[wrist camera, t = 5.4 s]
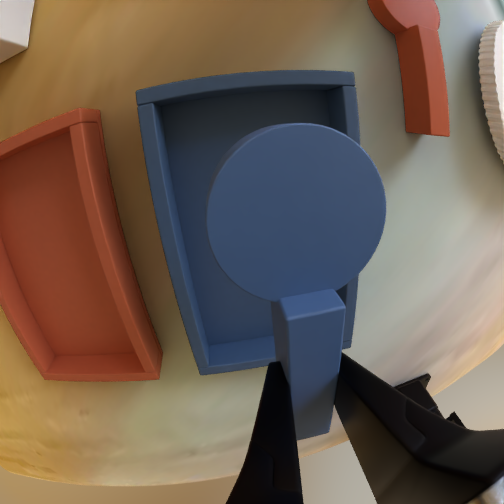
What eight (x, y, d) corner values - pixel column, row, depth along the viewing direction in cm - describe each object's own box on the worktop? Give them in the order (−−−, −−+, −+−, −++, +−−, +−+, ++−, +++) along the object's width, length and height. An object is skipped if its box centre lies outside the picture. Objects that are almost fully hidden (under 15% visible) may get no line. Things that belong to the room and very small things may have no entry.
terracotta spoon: (440, 134, 14) (466, 138, 12) (384, 131, 14) (409, 133, 12) (418, -11, 10) (439, -20, 8) (359, -28, 10) (377, -43, 7)
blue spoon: (345, 382, 12) (364, 422, 10) (244, 404, 11) (252, 449, 9) (358, 121, 7) (407, 123, 5) (194, 134, 7) (186, 135, 5)
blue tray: (337, 324, 19) (351, 347, 17) (200, 348, 18) (200, 376, 16) (333, 79, 13) (354, 71, 10) (147, 96, 12) (135, 90, 10)
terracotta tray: (163, 352, 18) (159, 379, 16) (55, 357, 17) (44, 379, 15) (100, 109, 12) (79, 107, 10) (-18, 160, 11) (-43, 168, 9)
